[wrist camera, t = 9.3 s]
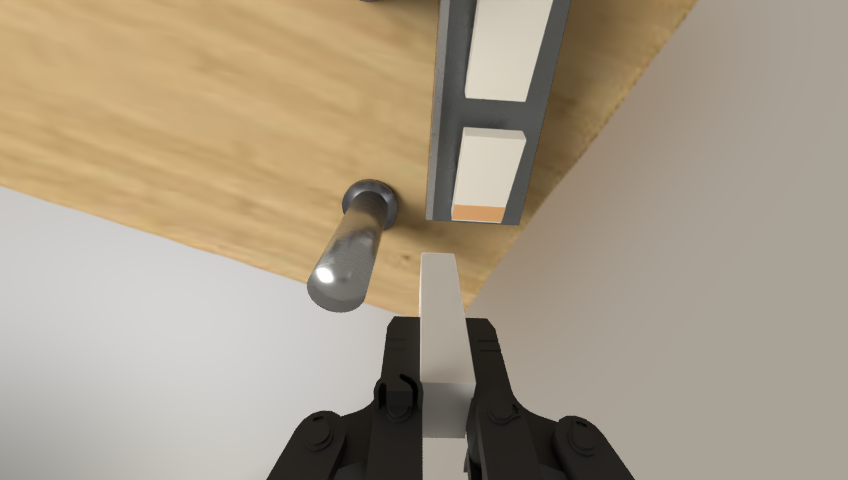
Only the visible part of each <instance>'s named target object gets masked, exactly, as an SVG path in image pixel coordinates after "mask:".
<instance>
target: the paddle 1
mask: <svg viewBox="0 0 848 480" xmlns="http://www.w3.org/2000/svg"><path fill="white" fill-rule="evenodd" d="M552 2H553V0H477V5H476V13H475V20H474V27H473V34H472V41H471V49H470V56H469V63H468V70H467V77H466V85H465V96H466V98H475V99H490V100H505V101H520V102H525V101H526V97H527V93H528V90H529V86H530V83H531V79H532V75H533V72H534V68H535V64H536V61H537V57H538V53H539V50H540V46H541V42H542V39H543V35H544V31H545V28H546V24H547V20H548V17H549V13H550V10H551V6H552Z"/></svg>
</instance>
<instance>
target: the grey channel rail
mask: <svg viewBox="0 0 848 480" xmlns="http://www.w3.org/2000/svg"><path fill="white" fill-rule="evenodd" d="M570 3H571V0H553V2H552V6H551V10H550V13H549V17H548V20H547V24H546V28H545V31H544V35H543V39H542V42H541V46H540V50H539V53H538V57H537V61H536V64H535V68H534V72H533V75H532V79H531V83H530V86H529V90H528V93H527V97H526V101H525V102H520V101H505V100H490V99H475V98H466V96H465V85H466V77H467V70H468V63H469V56H470V49H471V41H472V34H473V27H474V20H475V13H476V5H477V0H439V12H438V26H437V41H436V56H435V71H434V86H433V101H432V116H431V130H430V145H429V160H428V175H427V190H426V220H435V221H452V222H469V223H486V224H503V225H519V223H520V219H521V214H522V210H523V206H524V201H525V197H526V193H527V188H528V184H529V180H530V175H531V171H532V167H533V163H534V158H535V154H536V150H537V145H538V141H539V137H540V132H541V128H542V124H543V119H544V115H545V111H546V106H547V102H548V98H549V94H550V89H551V85H552V81H553V76H554V72H555V68H556V63H557V59H558V55H559V50H560V46H561V42H562V38H563V33H564V29H565V25H566V20H567V16H568V12H569V7H570ZM464 127H471V128H486V129H502V130H517V131H523V133H524V136H525V138H526V143H525V146H524V149H523V152H522V156H521V159H520V162H519V165H518V169H517V172H516V175H515V178H514V182H513V185H512V188H511V191H510V195H509V198H508V201H507V204H506V209H505V212H504V215H503V218H502V222H501V223H491V222H474V221H457V220H452V215H451V208H452V202H453V195H454V188H455V182H456V175H457V169H458V162H459V155H460V149H461V142H462V136H463V129H464Z"/></svg>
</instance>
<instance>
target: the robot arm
mask: <svg viewBox="0 0 848 480" xmlns="http://www.w3.org/2000/svg"><path fill="white" fill-rule="evenodd" d="M466 432H467V442H468V449H467V453H466V458H465V462H464V472H467V471H468V479H469V480H635V479H634V478H633V476H632V475H631V473H630V472H629V470H628V469H627V468H626V466H625V465H624V463H623V462H622V461H621V459H620V458H619V456H618V455H617V454H616V452H615V451H614V449H613V448H612V446H611V445H610V443H609V442H608V441H607V439H606V438H605V437H604V435H603V434H602V433H601V432H600V431H599V429H598V428H597V427H596V426H595V425H593V424H592V423H590V422H589V421H587V420H586V419H583V418H581V417H577V416H565V417H563V418H562V419H560V420H559V422H556V421H553V420H550V419H547V418H544V417H541V416H538V415H536V414H534V413H532V412H530V411H528V410H527V409H525V408H524V407H523V406H522V405H521V404H520V403H519V402H518V401H517V399H516V398H515V396H514V395H513V392H512V390H511V386H510V382H509V379H508V375H507V372H506V368H505V364H504V360H503V356H502V354H501V349H500V345H499V343H498V338H497V334H496V330H495V328H494V327H493V326H492V324H491V323H490V322H489V321H488V319H484V318H465V315H464V308H463V302H462V296H461V290H460V284H459V278H458V272H457V266H456V260H455V254H454V253H429V252H422V253H421V272H420V291H419V317H399V316H398V317H397V316H395V317H394V318H393V319H392V321H391V322H390V323H389V325H388V327H387V334H386V342H385V350H384V357H383V365H382V372H381V378H380V379H379V380H378V381H377V383H376V385H375V388H374V400H373V401H372V402H371V404H369V405H368V406H367V407H365V408H364V409H362V410H359V411H357V412H354V413H351V414H347V415H344V416H341V417H340V415H338V414H336V413H334V412H332V411H319V412H316V413H313V414H311V415H310V416H308V417H307V418H305V419H304V420H303V421H302V422H301V423H300V424H299V426H298V427H297V428H296V430H295V431H294V433H293V435H292V437H291V438H290V440H289V442H288V443H287V445H286V447H285V449H284V450H283V452H282V454H281V456H280V457H279V459H278V461H277V462H276V464H275V466H274V467H273V469H272V471H271V473H270V474H269V476H268V478H267V479H266V480H423V479H422V478H423V474H422V437H425V438H426V437H427V438H465V434H466Z"/></svg>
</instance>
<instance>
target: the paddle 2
mask: <svg viewBox="0 0 848 480" xmlns="http://www.w3.org/2000/svg"><path fill="white" fill-rule="evenodd" d="M525 143H526V138H525V136H524V133H523V131H517V130H502V129H486V128H471V127H464V129H463V136H462V142H461V149H460V155H459V162H458V169H457V175H456V182H455V188H454V195H453V202H452V208H451V215H452V220H457V221H474V222H491V223H501V222H502V218H503V215H504V212H505V209H506V204H507V201H508V198H509V195H510V191H511V188H512V185H513V182H514V178H515V175H516V172H517V169H518V165H519V162H520V159H521V156H522V152H523V149H524V146H525Z"/></svg>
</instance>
